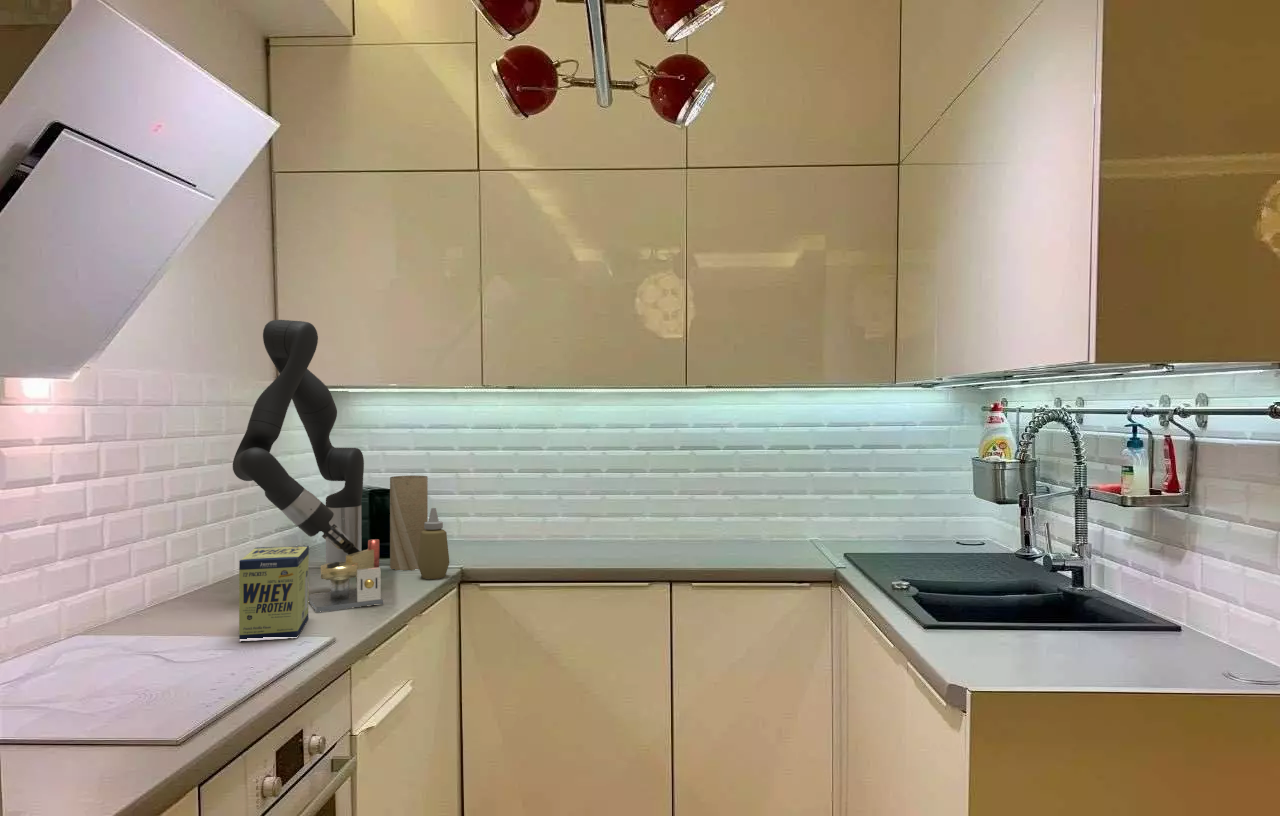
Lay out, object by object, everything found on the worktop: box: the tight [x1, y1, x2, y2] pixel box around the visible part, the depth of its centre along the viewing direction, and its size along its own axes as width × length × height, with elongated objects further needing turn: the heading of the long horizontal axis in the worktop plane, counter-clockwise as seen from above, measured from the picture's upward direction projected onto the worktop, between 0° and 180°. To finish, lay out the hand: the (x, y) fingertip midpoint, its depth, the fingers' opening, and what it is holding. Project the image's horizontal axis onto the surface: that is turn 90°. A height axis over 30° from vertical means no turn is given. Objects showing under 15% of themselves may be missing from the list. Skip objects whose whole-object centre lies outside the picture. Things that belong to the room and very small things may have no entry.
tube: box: [389, 475, 429, 571], centre depth 220 cm, size 10×10×25 cm
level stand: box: [308, 566, 384, 613], centre depth 180 cm, size 15×14×8 cm
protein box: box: [238, 545, 310, 639], centre depth 158 cm, size 10×16×16 cm
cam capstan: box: [320, 538, 380, 581], centre depth 185 cm, size 19×8×6 cm, turn 166°
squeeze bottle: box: [418, 507, 450, 580], centre depth 207 cm, size 8×8×18 cm
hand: (361, 559), depth 192 cm, fingers closed
